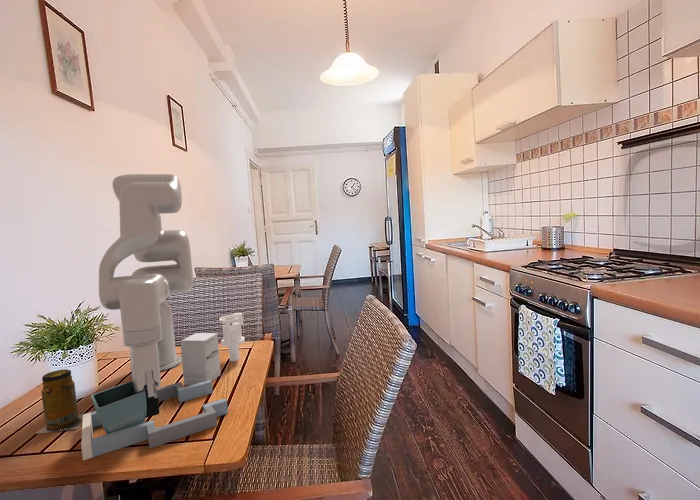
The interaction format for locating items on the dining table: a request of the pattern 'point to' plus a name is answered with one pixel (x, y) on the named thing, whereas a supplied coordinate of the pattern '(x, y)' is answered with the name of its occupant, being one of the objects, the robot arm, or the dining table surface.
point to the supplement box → (200, 358)
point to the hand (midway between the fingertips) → (151, 414)
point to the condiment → (59, 402)
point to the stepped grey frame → (148, 429)
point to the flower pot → (120, 407)
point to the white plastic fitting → (232, 334)
